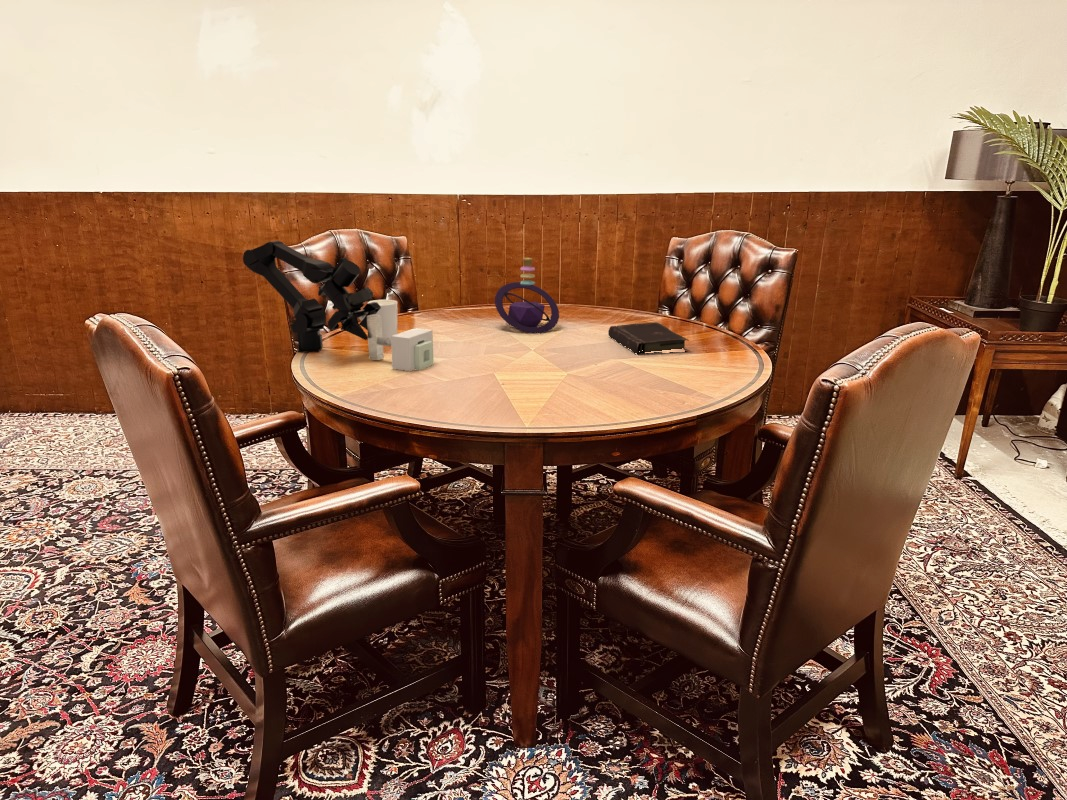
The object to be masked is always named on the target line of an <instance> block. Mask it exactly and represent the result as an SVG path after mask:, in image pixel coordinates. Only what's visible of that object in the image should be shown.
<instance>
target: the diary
mask: <svg viewBox="0 0 1067 800" xmlns="http://www.w3.org/2000/svg"><path fill="white" fill-rule="evenodd" d="M607 332H608V333H607V335H608V337H609V336H610V337H611V338H613V339H615V340H616V341H618V342H619V343H621V344H622V345H624V346H626V347H627V348H629V349H631V350H632V351H633V352H635V353H638V354H639V352H638V351H640V352H642V350H643V351H644V352H651V351H662V350H671V349H682V348H684V349H685V345H686V344H685V343H686V341H688V342H689V341H690V340H689V339H688V338H686V337H684V336H682V335H680V334H678V333H676V332H674V331H673V330H671V329H669V328H668V327H667V326H665V325H663V324H661V323H659V322H657V321H656V322H640V323H637V322H636V323H627V324H621V325H620V324H619V325H610V326H609V328H608V331H607ZM610 337H609V338H610ZM611 338H610V339H611ZM613 339H612V340H613ZM615 340H614V341H615ZM616 341H615V342H616ZM618 342H617V343H618ZM619 343H618V344H619ZM621 344H620V345H621ZM622 345H621V346H622ZM624 346H623V347H624ZM627 348H626V349H627ZM629 349H628V350H629ZM632 351H631V352H632ZM633 352H632V353H633ZM642 353H643V352H642Z"/></svg>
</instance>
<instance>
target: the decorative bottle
mask: <svg viewBox="0 0 1067 800" xmlns="http://www.w3.org/2000/svg"><path fill="white" fill-rule="evenodd" d="M522 261H523V264H522V266H521V267H520V271H521V272H534V271H535V270H536V268H535V267H534V266H533V257H523V258H522ZM519 277H520V278H521V279H522V280H521V281H520V282H518V281H516V282H515V281H514V282H509V283H507V284H506V283H505V285H503V286H501V287H500V288H499V289H498V291H496V294H495V297H494V305H495V308H496V311H497V312H498V314H499V316H500V317H501V318H502V320H504V321H505V322H506V323H507V324H508V325H509V326H511V327H512V328H514V329H516V330H518V331H522V332H523V333H527V334H528V333H529V334H543V333H546V332H549V331H550V330H552V329H554V328H555V327H556V325H557V324H558V322H559V318H560V310H559V308H558V305H557V302H555V300H554V299H553V296H551V295H550V294H548V292H546V291H545V290H544V289H542V288H540V287H539V286H537V285H535V284H536V282H535V281H534V280H529V279H534V278H535V277H536V275H535V274H533V273H521V274H520V276H519ZM523 279H526V280H523ZM515 289H525V290H530V291H532V292H534V293H536V294H538V295H540V296H541V297H543V299H545V301H546V302H547V304H548V305H549V308H550V311H551V312H550V314H551V315H550V317H549V316H548V314H547V313H546V312H545V306H546V305H544V304H542V303H543V301H542V303H540V302H538V301H528V299H525V298H524V297H522V296H519V295H517V294H514V293H512V292H510V291H512V290H515ZM509 296H513V297H516V298H518V299H519V300H522V301H515V302H513V301H512V300H511V299H510V298H509ZM504 298H505V299H506V300H508V301H509V302H510V303H511V304H509V305H508V306H509V308H508V314H507V312H506V310H505V308H504V304H503V302H504V301H503V299H504ZM543 316H545V317H546V318H544V317H543ZM542 321H544V322H546V323H545V324H543V325H540V323H541V322H542ZM539 325H540V326H539Z"/></svg>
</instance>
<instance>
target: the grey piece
mask: <svg viewBox="0 0 1067 800" xmlns="http://www.w3.org/2000/svg"><path fill="white" fill-rule="evenodd" d="M366 331H367V337H368V339H367V341H368V342H367V344H368V357H369V360H373V361H379V360H381V359H382V360H383V359H384V357H385V356H384V346H385V347H391V338H385V337H382V319H381V315H375V314H372V315H369V316H367V330H366Z"/></svg>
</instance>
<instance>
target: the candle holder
mask: <svg viewBox="0 0 1067 800" xmlns="http://www.w3.org/2000/svg"><path fill="white" fill-rule="evenodd" d="M372 302H377V303H378V304H379V305H380V307H381V309H380V310H379V311H378V312H377V313H376V314H375V315H381V319H382V337H385V338H391V336H393V335H396V334H398V300H394V299H375V300H374V299H373V300H368V301H367V304H368V303H372Z"/></svg>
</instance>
